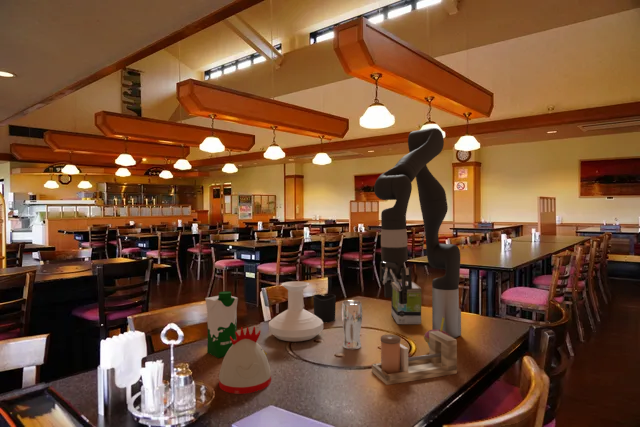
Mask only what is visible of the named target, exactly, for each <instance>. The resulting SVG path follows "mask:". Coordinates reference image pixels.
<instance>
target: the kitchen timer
mask: <svg viewBox="0 0 640 427" xmlns="http://www.w3.org/2000/svg"><path fill="white" fill-rule="evenodd" d="M243 328H244V327H243V326H241V327H240V334H239V333H238V331H237V332H235V333H236V337H237V339H236V340H233V339H232V338H231V336H230V339H231V341H232V343H233V345H232V346H231V347H230V348H229V350H228V351H227V353H226V355H225V356H224V357H223V360H222V362H221V366H220V369H219V373H218V374H219V375H218V387H219V389H220V390H222V391H224V392H226V393H229V394H238V395H245V394H251V393H256V392H259V391H262V390H264V389H265V387H266V388H267V387H269V385H270V384H271V382H272V371H271V366H270V363H269V360H268V357H267V355H268V353H267V351H265V350H264V349H263V348H262V346H261V345H260V344H259V343H258V342H257V341H258V340H259V338H260V335H261V330H259V331H258V332H257V333H256V327H255V326H253V328H252V331H251V332H250V330H249V327H248V326H246V332H244V329H243ZM258 390H259V391H258ZM255 391H256V392H255Z"/></svg>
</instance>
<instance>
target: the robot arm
mask: <svg viewBox="0 0 640 427" xmlns="http://www.w3.org/2000/svg"><path fill="white" fill-rule="evenodd" d="M444 140H445V139H444V135H443V133H442V130H441V129H439V128H436V127H430V128H425V129H418V130H413V131H411V132H410V133H409V134H408V137H407V145H408V152H409V153H406V154H405V155H403V157H401V158H400V159H399V160H398V161H397V163H395V165H394V166H393V167H391V168H390V169H388V170H386V171H385V172H383V173H382V174H380V175H379V176H378V177H377V179H376V180H375V183H374V185H373V190H374V194H375V196H376V197H377V198H378V200H382V201H395V203H394V205H393V206H391V207H389V208H384V209H383V210H382V211H381V215H380V218H381V219H380V222H381V223H380V225H381V227H380V228H381V232H380V233H381V234H380V255H381V256H380V257H381V261H380V263H379V281H380V282H382V285H383V287H384V288H383V289H384V290H383V292H384V293H383V294H384V297H385V298H386V299H388V298H392V282H395V284H397V286H398V289H399V303H400V304H406V303H407V290H409V289H412V282H413V281H412V268H411V267H405V262H407V261H409V260H408V258H409V257H408V256H409V253H408V252H409V251H408V250H409V249H408V233H407V212H408V206H409V202H410V198H411V195H412V190H413V187H412V186H413V184H412V182H413V181H414V179H415V180H416V186H417V194H418V200H419V205H420V210H421V216H422V222H423V227H424V235H425V237H424V238H425V249H426V250H425V251H426V257H427V258H426V259H427V262H428V265H429V266H430V267H431V268H433V269H439V270H445V274H444V275H443V276H440V277H436V278H433V279H432V281H431V282H432V283H431V289H432V290H431V295H432V296H431V297H432V298H431V299H432V301H431V303H432V304H431V306H432V307H431V308H432V310H431V311H432V312H431V313H432V315H431V316H432V320H431V321H432V325H431V326H432V327H431V328H432V329H431V330H434V329H440V328H441V322H442V318H443V316H444V323H443V329H442V330H444V331H446V332H447V333H448V334H450V336H451V337H452V338H454V339H456V338H458V337H459V336H462V309H461V308H459V307H460V306H459V298H460V297H459V294H460V293H459V290H460V288H459V286H460V284H459V283H460V278H461V277H460V274H461V271H460V270H461V251H460V248H459V246H458V245H457V244H451V243H441V242H440V240H439V231H440V228H441V225H442V224H443V222H444V220H445V218H446V216H447V213H448V208H449V206H448V198H447V194H446V190H445V188H444V187H443V185H442V184H441V183H440V182H439V181H438V180H437V178H436V177H435V176H434V175H433V173H432V172H431V171H430V170H429V167H428V166H427V164H429V163H430V162H431V161H432V160H433V159H435V158H436V157H437V156H438V155H439V154H441V153H442V151H443V149H444V143H445V142H444ZM407 282H408V285H407ZM401 284H402V286H401Z"/></svg>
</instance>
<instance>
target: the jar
mask: <svg viewBox="0 0 640 427" xmlns="http://www.w3.org/2000/svg"><path fill="white" fill-rule="evenodd" d="M400 344H401V337H400V336H399V335H396V334H383V335H380V363H381V369H382V370H383V371H384V372H386V373H387V374H393V373H400Z"/></svg>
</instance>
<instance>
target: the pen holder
mask: <svg viewBox="0 0 640 427" xmlns="http://www.w3.org/2000/svg"><path fill="white" fill-rule="evenodd" d="M336 299H337V296H336V295H335V294H329V295H323V294H314V295H313V298H312V300H313V301H312V302H313V314H314V315H316V316H317V317H318V318H320V319H321V320H322V321H323V324H324V323H326V322H327V323H332V322H335V320H336V302H337V300H336ZM327 323H326V324H327Z"/></svg>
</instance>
